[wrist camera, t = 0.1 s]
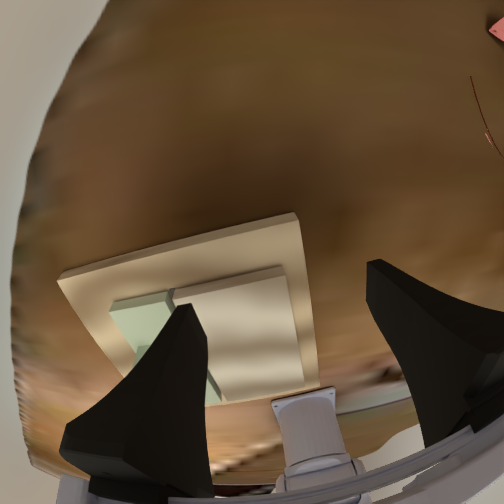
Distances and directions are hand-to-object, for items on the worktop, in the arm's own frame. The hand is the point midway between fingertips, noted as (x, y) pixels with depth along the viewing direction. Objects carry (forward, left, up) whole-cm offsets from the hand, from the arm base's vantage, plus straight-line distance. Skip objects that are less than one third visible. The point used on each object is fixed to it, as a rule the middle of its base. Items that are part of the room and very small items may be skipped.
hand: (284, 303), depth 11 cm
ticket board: (-11, +8, -10) cm, 16 cm away
